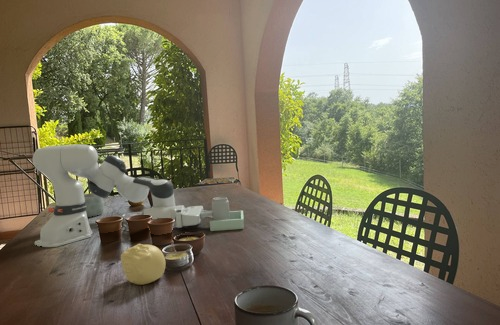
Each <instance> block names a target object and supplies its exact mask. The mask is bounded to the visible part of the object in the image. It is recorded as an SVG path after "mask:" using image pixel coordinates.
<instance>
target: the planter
mask: <svg viewBox="0 0 500 325" xmlns="http://www.w3.org/2000/svg"><path fill="white" fill-rule="evenodd" d="M84 198H85V202H86V206H87V211H86V213H87V218H93V217H98V216H101V215H102V214H103V213H104V210H105V207H104V198H98V197H96V196H94V195H93V194H92V193H91V192H90V193H84ZM97 215H98V216H97ZM92 216H93V217H92Z"/></svg>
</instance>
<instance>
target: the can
mask: <svg viewBox="0 0 500 325" xmlns="http://www.w3.org/2000/svg"><path fill="white" fill-rule="evenodd" d="M211 211H212V221H216V220H230V215H229V212H230V201H229V200H228V197H226V196H216V197H213V198H212V201H211Z"/></svg>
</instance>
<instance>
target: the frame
mask: <svg viewBox="0 0 500 325" xmlns="http://www.w3.org/2000/svg"><path fill="white" fill-rule="evenodd" d="M229 215H230V220H216V221H213V220H209V229H210V232H213V231H229V230H230V231H231V230H243V229H245V223H244V222H245V220H244V210H232V211H231V210H229Z"/></svg>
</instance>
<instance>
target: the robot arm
mask: <svg viewBox="0 0 500 325" xmlns="http://www.w3.org/2000/svg"><path fill="white" fill-rule="evenodd" d="M98 160H99V154H98V151H97V150H96V148H95V147H94V146H93V145H89V144H83V143H82V144H81V143H79V144H62V145H48V146H43V147H41V148H37V149H36V150H35V151H34V153H33V154H32V164H33V165H34V168H35V169H36V170H37V171H39V172H40V173H42V174H43V175H45V176H46V178H47V179H48V180H49V181H50V183H51V185H52V188H53V190H54V191H53V192H54V197H55V207H47V208H48V209H47V212H48V213H53V214H52V217H51V218H49V220H48V221H47V222H45V224H44V225H43V226H42V227H41V228H40V235H39V236H40V238H39V239H37V240H35V241H34V245H35V246H36V245H37V247H40V246H42V248H57V247H61V246H64V245H68V244H71V243H75V242H79V241H81V240H85V239H89V238H91V236H92V234H93V231H92V229H91V226H90V222H89V219H88V218H89V217H87V213H86V211H87V206H86V202H85V198H84V194H85V191H84V185H83V183H82V182H81V181H80V180H78V179H75V178H73V177H72V176H71V175H73V176H76V177H80V178H83V179H84V178H85V179H86V180H87V179H88V181H86V184H87V188H88V191H89V192H90V193H92V194H93V195H94V196H96V197H98V198H103V199H107V198H108V197H109V196H110V195H111V192H112V191H113V190H114V188H115V190H116V191H117V192H118V194H119V195H120V196H121V197H123V198H125V200H128V201H129V202H131V203H135V204H136V203H141V202H143V201H144V200H145V199H146V198H147V197H148V195H149V192H150V195H151V199H152V206H151V207H149V208H144V209H143V210H142V216H143V215H151V216H152V219H157V218H173V219H175V223H174V226H173V227H176V228H177V229H180V228H181V229H182V228H183V227H188V226H189V227H190V226H196V225H199V224H200V223H201V221H202V219H204V218H208V217H211V216H212V210H206V209H205V210H204V206H203V205H195V206H193V205H191V206H187V207H185V205H183V204H182V205H176V200H175V199H176V198H175V193H174V192H175V191H174V190H175V189H174V184H173V182H171V181H170V180H168V179H166V178H154V177H150V176H145V175H144V176H143V175H142V176H138V177H133V176H130V175H127V174H126V172H128V170H127V166H126V164H125V162H124V161H123V159H121V158H120V157H119V156H118V155H111V154H110V155H107V156H106V157H105V158H104V159H103V161H102V163H101V164H100V165H99V162H98ZM70 174H71V175H70Z"/></svg>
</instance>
